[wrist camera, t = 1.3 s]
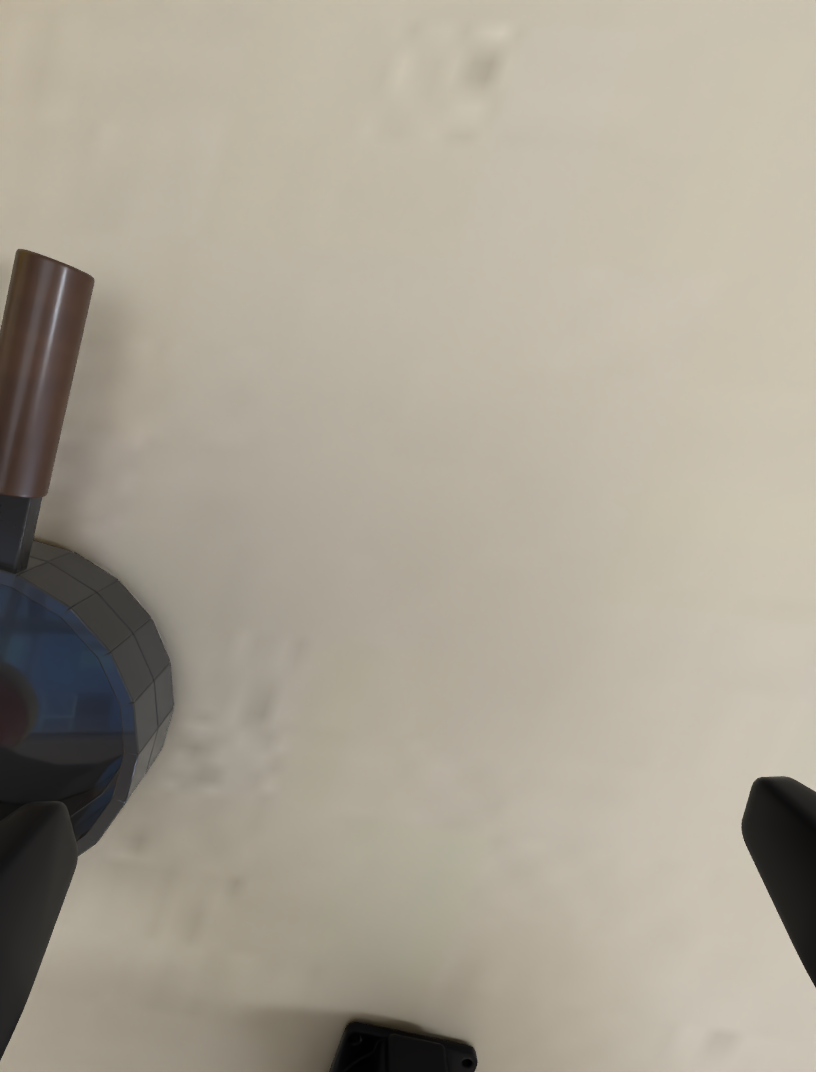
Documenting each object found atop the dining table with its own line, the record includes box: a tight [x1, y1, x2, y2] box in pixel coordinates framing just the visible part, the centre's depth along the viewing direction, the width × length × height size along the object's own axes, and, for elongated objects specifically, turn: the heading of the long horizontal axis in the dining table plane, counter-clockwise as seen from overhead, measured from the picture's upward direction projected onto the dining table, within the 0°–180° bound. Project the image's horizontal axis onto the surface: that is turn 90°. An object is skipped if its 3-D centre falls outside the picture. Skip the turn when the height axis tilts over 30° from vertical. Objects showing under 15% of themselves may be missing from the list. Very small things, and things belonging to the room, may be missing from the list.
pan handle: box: [0, 249, 95, 569], centre depth 17 cm, size 10×2×2 cm, turn 162°
